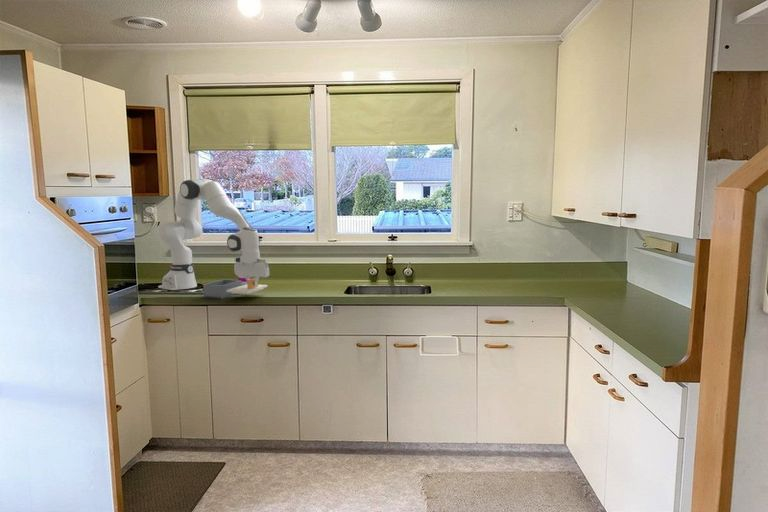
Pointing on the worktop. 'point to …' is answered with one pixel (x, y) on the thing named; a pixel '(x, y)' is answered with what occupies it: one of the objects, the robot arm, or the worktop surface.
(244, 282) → the supplement can
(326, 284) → the worktop surface
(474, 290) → the worktop surface
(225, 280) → the tub
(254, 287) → the lid
